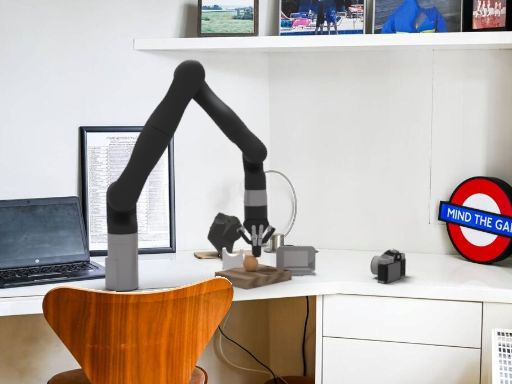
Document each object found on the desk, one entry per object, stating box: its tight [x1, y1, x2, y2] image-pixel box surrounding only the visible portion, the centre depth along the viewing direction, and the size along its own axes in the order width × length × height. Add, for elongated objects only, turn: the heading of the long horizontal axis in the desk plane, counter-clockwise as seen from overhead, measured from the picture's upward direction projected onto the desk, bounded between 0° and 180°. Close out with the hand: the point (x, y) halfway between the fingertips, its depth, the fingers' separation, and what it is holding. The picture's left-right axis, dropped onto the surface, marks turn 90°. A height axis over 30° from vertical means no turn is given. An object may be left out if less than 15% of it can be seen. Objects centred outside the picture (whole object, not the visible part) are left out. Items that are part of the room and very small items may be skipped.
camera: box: [370, 248, 407, 284], centre depth 220 cm, size 16×9×10 cm, turn 139°
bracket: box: [222, 247, 246, 271], centre depth 240 cm, size 13×7×8 cm, turn 177°
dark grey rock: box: [207, 211, 243, 261], centre depth 254 cm, size 14×15×18 cm
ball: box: [243, 255, 259, 271], centre depth 216 cm, size 5×5×5 cm
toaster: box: [275, 245, 316, 277], centre depth 228 cm, size 13×9×10 cm
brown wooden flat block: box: [214, 263, 293, 290], centre depth 216 cm, size 20×15×3 cm
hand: (256, 256), depth 216 cm, fingers closed
